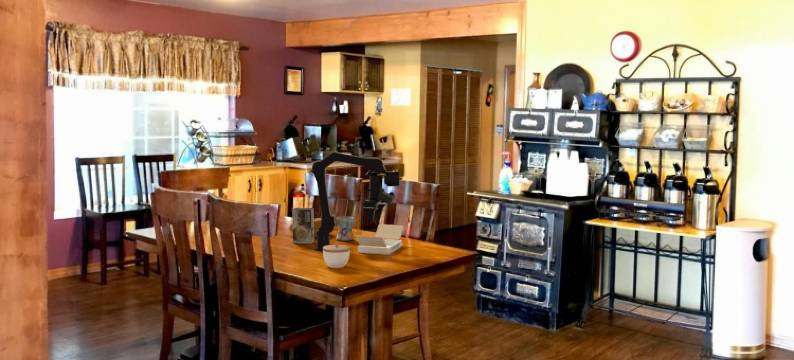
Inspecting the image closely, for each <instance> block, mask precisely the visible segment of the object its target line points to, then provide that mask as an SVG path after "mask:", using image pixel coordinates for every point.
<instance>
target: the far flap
mask: <svg viewBox="0 0 794 360" xmlns="http://www.w3.org/2000/svg"><path fill="white" fill-rule="evenodd" d="M403 230H404V225H400V224H399V225H398V224H382V223H381V224H378V226H377V229H376V233H375V235H374V236H376V237H383V239H393V240H401V237H402V233H403Z"/></svg>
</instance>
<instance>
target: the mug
mask: <svg viewBox="0 0 794 360" xmlns="http://www.w3.org/2000/svg"><path fill="white" fill-rule="evenodd" d="M355 219H356V217H354V216H335V222H336V226H337V234H336V235H337V236H336V240H339V241H341V242H342V241H343V242H347V241H352V240H354V239H355V237H354V235H353V225H354V222H355Z"/></svg>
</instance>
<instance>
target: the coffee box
mask: <svg viewBox="0 0 794 360" xmlns="http://www.w3.org/2000/svg"><path fill="white" fill-rule="evenodd" d="M291 211H292V223H293V233H292V244H299V245H300V244H303V245H304V244H306V245H307V244H308V245H309V244H310V245H312V244H313V243H314V242H315V237H314V219H315V208H314V207H294V208H293V209H292V210H291Z"/></svg>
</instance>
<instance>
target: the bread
mask: <svg viewBox="0 0 794 360" xmlns="http://www.w3.org/2000/svg"><path fill="white" fill-rule="evenodd" d="M320 227H321V217H317V218H315V217H314V238H317V234H316V232H317V230H318V229H319V228H320ZM288 230H289V231H290V232H291V233H292V234H293V222H291V224H290V225H289V228H288Z"/></svg>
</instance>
